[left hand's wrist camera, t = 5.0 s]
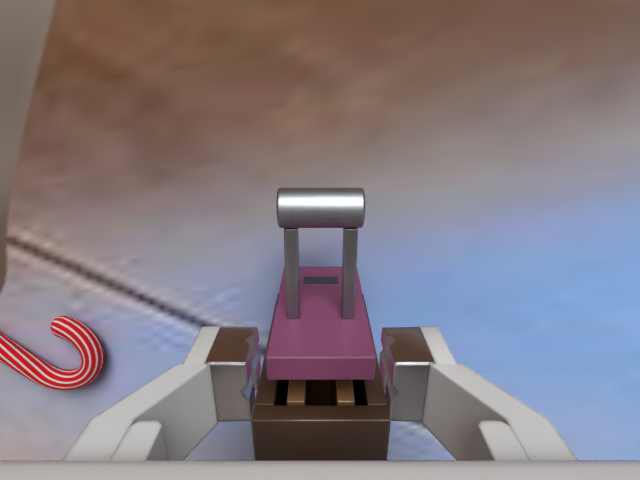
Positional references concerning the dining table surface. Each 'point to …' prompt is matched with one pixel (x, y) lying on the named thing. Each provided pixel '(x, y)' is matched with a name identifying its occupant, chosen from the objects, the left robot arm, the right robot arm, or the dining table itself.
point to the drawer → (320, 304)
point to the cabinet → (320, 423)
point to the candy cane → (50, 375)
